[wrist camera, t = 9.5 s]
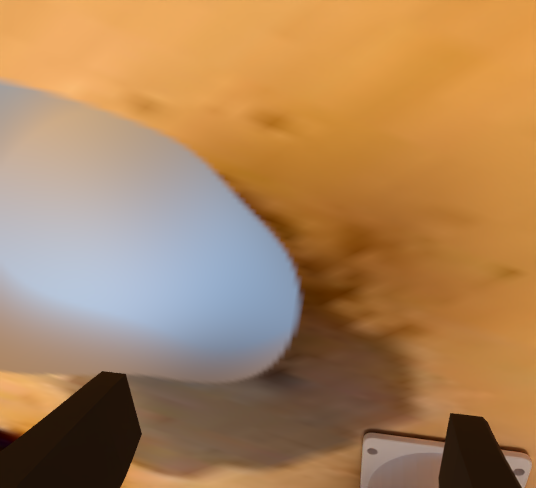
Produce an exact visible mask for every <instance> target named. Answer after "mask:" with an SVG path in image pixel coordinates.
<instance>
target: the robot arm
mask: <svg viewBox="0 0 536 488" xmlns="http://www.w3.org/2000/svg"><path fill="white" fill-rule="evenodd" d="M141 435H142V433H141V429H140V426H139V422H138V418H137V414H136V411H135V407H134V403H133V399H132V396H131V392H130V388H129V384H128V381H127V377H126V374H121V373H113V372H104V371H102V372H101V373H99V374H98V375H97V376H96V377H94V378H93V379H92V380H90V381H89V382H88V383H87V384H85V385H84V386H83V387H82V388H80V389H79V390H78V391H77V392H76V393H74V394H73V395H72V396H71V397H69V398H68V399H67V400H66V401H65V402H63V403H62V404H61V405H60V406H58V407H57V408H56V409H55V410H53V411H52V412H51V413H50V414H48V415H47V416H46V417H45V418H43V419H42V420H41V421H40V422H38V423H37V424H36V425H35V426H33V427H32V428H31V429H30V430H28V431H27V432H26V433H25V434H23V435H22V436H21V437H19V438H18V439H17V440H16V441H14V442H13V443H12V444H10V445H9V446H8V447H6V448H5V449H3V450H2V451H1V452H0V488H120V487H121V485H122V483H123V481H124V479H125V477H126V474H127V472H128V469H129V467H130V464H131V462H132V459H133V456H134V454H135V451H136V448H137V445H138V443H139V440H140V437H141ZM531 468H532V462H531V459H530V457H529V455H527V454H525V453H522V452H515V451H507V450H501V449H500V447H499V445H498V443H497V441H496V439H495V437H494V435H493V433H492V431H491V429H490V426H489V424H488V422H487V421H486V420H485V419H484V418H483V417H478V416H470V415H462V414H453V413H450V418H449V423H448V429H447V434H446V439H445V442H440V441H432V440H424V439H417V438H409V437H402V436H394V435H387V434H379V433H367V434H365V435H364V437H363V448H362V464H361V480H360V488H525V486H526V483H527V480H528V477H529V474H530V471H531Z"/></svg>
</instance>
